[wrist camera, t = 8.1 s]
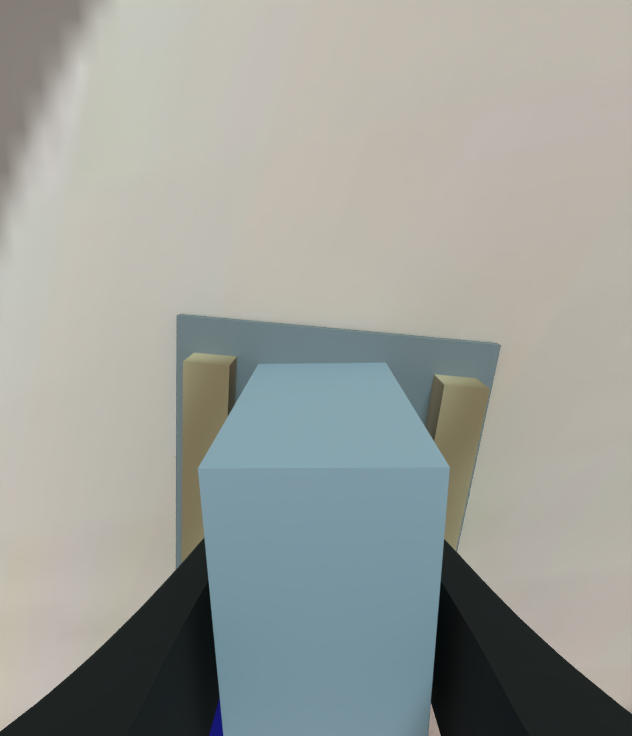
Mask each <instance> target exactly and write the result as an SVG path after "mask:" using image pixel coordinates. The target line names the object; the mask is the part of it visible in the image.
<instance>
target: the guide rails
mask: <svg viewBox="0 0 632 736" xmlns="http://www.w3.org/2000/svg"><path fill="white" fill-rule="evenodd" d="M236 369H237V356H227V355H216V354H205V353H193V354H192V355H191V356H189V357H188V358H187V359H185V360H184V361H183V430H182V562H183V561H184V560H185V559H186V558H187V556H188V555H189V554H190V553H191V552H192V551H193V550H194V548H195V547H196V546H197V545H198V544H199V543H200V542H201V540H202V539H203V538H204V528H203V517H202V507H201V496H200V486H199V476H198V467H199V466H200V464H201V462H202V460H203V459H204V457H205V455H206V454H207V452H208V450H209V448H210V447H211V445H212V443H213V441H214V440H215V438H216V436H217V435H218V433H219V431H220V429H221V428H222V426H223V424H224V422H225V421H226V419H227V417H228V416H229V414H230V412H231V410H232V409H233V407H234V405H235V392H236ZM489 392H490V388H488V387H487V386H486V385H484V384H483V383H482V382H480V381H479V380H478V379H477V378H470V377H459V376H448V375H437V374H434V378H433V384H432V390H431V396H430V401H429V407H428V413H427V419H426V425H425V427H426V429H427V431H428V432H429V434H430V436H431V437H432V439H433V441H434V442H435V444H436V445H437V447H438V449H439V450H440V452H441V454H442V455H443V457H444V459H445V460H446V462H447V463H448V465H449V467H450V472H449V484H448V497H447V509H446V521H445V533H444V539H445V540H446V541H447V542H448V543H449V544H450V545H451V546H452V548H453V549H454V550H455V551H456V548H457V543H458V538H459V534H460V529H461V524H462V519H463V515H464V510H465V505H466V501H467V496H468V491H469V486H470V482H471V477H472V472H473V467H474V463H475V458H476V453H477V449H478V444H479V439H480V434H481V430H482V425H483V420H484V415H485V411H486V406H487V401H488V397H489Z"/></svg>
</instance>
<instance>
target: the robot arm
mask: <svg viewBox="0 0 632 736" xmlns="http://www.w3.org/2000/svg"><path fill="white" fill-rule="evenodd" d="M219 698H220V695H219V685H218V674H217V664H216V653H215V643H214V632H213V622H212V611H211V601H210V590H209V580H208V570H207V559H206V549H205V538H203V539H202V540H201V542H200V543H199V544H198V545H197V546H196V547H195V548H194V550H193V551H192V552H191V553H190V554H189V555H188V556H187V558H186V559H185V560H184V561H183V562H182V563H181V564H180V566H179V567H178V568H177V569H176V570H175V571H174V572H173V573H172V575H171V576H170V577H169V578H168V579H167V580H166V581H165V582H164V583H163V584H162V586H161V587H160V588H159V589H158V590H157V591H156V592H155V593H154V594H153V595H152V596H151V597H150V598H149V599H148V601H147V602H146V603H145V604H144V605H143V606H142V607H141V608H140V609H139V610H138V611H137V612H136V613H135V614H134V615H133V616H132V617H131V618H130V619H129V620H128V621H127V622H126V623H125V624H124V625H123V626H122V627H121V628H120V629H119V630H118V631H117V632H116V633H115V634H114V635H113V636H112V637H111V638H110V639H109V640H108V641H107V642H106V643H105V644H104V645H103V646H101V647H100V648H99V649H98V650H97V651H96V652H95V653H94V654H93V655H92V656H91V657H90V658H89V659H87V660H86V661H85V662H84V663H83V664H82V665H81V666H80V667H79V668H77V669H76V670H75V671H74V672H73V673H72V674H71V675H70V676H68V677H67V678H66V679H65V680H64V681H63V682H61V683H60V684H59V685H58V686H57V687H56V688H54V689H53V690H52V691H51V692H50V693H49V694H47V695H46V696H45V697H44V698H43V699H41V700H40V701H39V702H38V703H36V704H35V705H34V706H33V707H31V708H30V709H29V710H28V711H26V712H25V713H24V714H22V715H21V716H20V717H18V718H17V719H16V720H15V721H13V722H12V723H11V724H9V725H8V726H7V727H6V728H4V729H3V730H2V731H0V736H209V734H210V730H211V727H212V723H213V719H214V716H215V712H216V709H217V705H218V701H219ZM431 704H432V707H433V710H434V714H435V717H436V721H437V724H438V727H439V731H440V734H441V736H632V714H631V713H630V712H629V711H627V710H626V709H625V708H623V707H622V706H621V705H619V704H618V703H617V702H616V701H614V700H613V699H612V698H611V697H610V696H608V695H607V694H606V693H605V692H603V691H602V690H601V689H600V688H599V687H597V686H596V685H595V684H594V683H592V682H591V681H590V680H589V679H588V678H586V677H585V676H584V675H583V674H581V673H580V672H579V671H578V670H577V669H575V668H574V667H573V666H572V665H571V664H570V663H568V662H567V661H566V660H565V659H564V658H563V657H562V656H560V655H559V654H558V653H557V652H556V651H555V650H554V649H553V648H552V647H550V646H549V645H548V644H547V643H546V642H545V641H544V640H543V639H542V638H541V637H540V636H538V635H537V634H536V633H535V632H534V631H533V630H532V629H531V628H530V627H529V626H528V625H527V624H526V623H524V622H523V621H522V620H521V619H520V618H519V617H518V616H517V615H516V614H515V613H514V612H513V611H512V610H511V609H510V608H509V607H508V606H507V605H506V604H505V603H504V602H503V601H502V600H501V599H500V598H499V597H498V596H497V595H496V594H495V593H494V592H493V591H492V589H491V588H490V587H489V586H488V585H487V584H486V583H485V582H484V581H483V580H482V579H481V578H480V577H479V576H478V575H477V574H476V573H475V571H474V570H473V569H472V568H471V567H470V566H469V565H468V564H467V563H466V562H465V561H464V560H463V558H462V557H461V556H460V555H459V554H458V553H457V552H456V551H455V550H454V549H453V548H452V546H451V545H450V544H449V543H448V542H447V541H446V540H445V539H444V546H443V558H442V570H441V583H440V595H439V607H438V620H437V632H436V644H435V656H434V669H433V681H432V693H431Z"/></svg>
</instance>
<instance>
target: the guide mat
mask: <svg viewBox="0 0 632 736" xmlns="http://www.w3.org/2000/svg"><path fill="white" fill-rule="evenodd" d="M500 347H501V345H499V344H497V343H489V342H478V341H468V340H457V339H446V338H435V337H424V336H413V335H402V334H391V333H380V332H370V331H359V330H348V329H337V328H326V327H315V326H304V325H293V324H283V323H272V322H261V321H250V320H239V319H228V318H217V317H206V316H195V315H185V314H179V315H177V369H176V569H177V568H178V567H179V566H180V564H181V563H182V430H183V361H184V360H185V359H187V358H188V357H189V356H191V355H192V354H193V353H205V354H216V355H227V356H237V369H236V392H235V403H236V402H237V400H238V398H239V397H240V395H241V393H242V391H243V390H244V388H245V386H246V384H247V383H248V381H249V379H250V378H251V376H252V374H253V372H254V371H255V369H256V367H257V365H258V364H302V363H386V364H387V365H388V367H389V369H390V370H391V372H392V373H393V375H394V377H395V378H396V380H397V382H398V383H399V385H400V387H401V388H402V390H403V391H404V393H405V395H406V396H407V398H408V400H409V401H410V403H411V405H412V406H413V408H414V409H415V411H416V413H417V414H418V416H419V418H420V419H421V421H422V423H423V424H424V426H425V425H426V419H427V413H428V407H429V401H430V396H431V390H432V384H433V378H434V374H437V375H448V376H459V377H470V378H477V379H478V380H479V381H480V382H482V383H483V384H484V385H486V386H487V387H488V388H490V392H489V397H488V401H487V406H486V411H485V415H484V420H483V425H482V430H481V434H480V439H479V444H478V449H477V453H476V458H475V463H474V467H473V472H472V477H471V482H470V486H469V491H468V496H467V501H466V505H465V510H464V515H463V519H462V524H461V529H460V534H459V538H458V543H457V548H456V552H457V549H458V544H459V539H460V535H461V530H462V525H463V521H464V516H465V511H466V507H467V502H468V497H469V492H470V488H471V483H472V478H473V474H474V469H475V464H476V459H477V455H478V450H479V445H480V441H481V436H482V431H483V427H484V422H485V417H486V412H487V408H488V403H489V398H490V394H491V389H492V384H493V379H494V375H495V370H496V365H497V361H498V356H499V351H500Z"/></svg>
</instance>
